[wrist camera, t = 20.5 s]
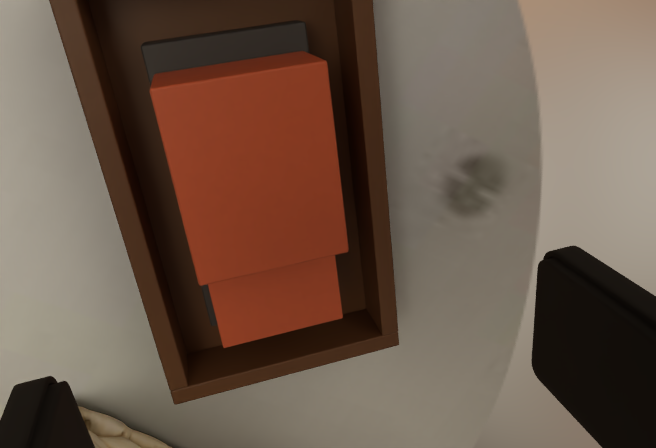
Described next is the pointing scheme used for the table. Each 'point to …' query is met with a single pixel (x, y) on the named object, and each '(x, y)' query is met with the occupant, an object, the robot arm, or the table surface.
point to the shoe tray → (161, 202)
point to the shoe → (253, 174)
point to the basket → (116, 432)
